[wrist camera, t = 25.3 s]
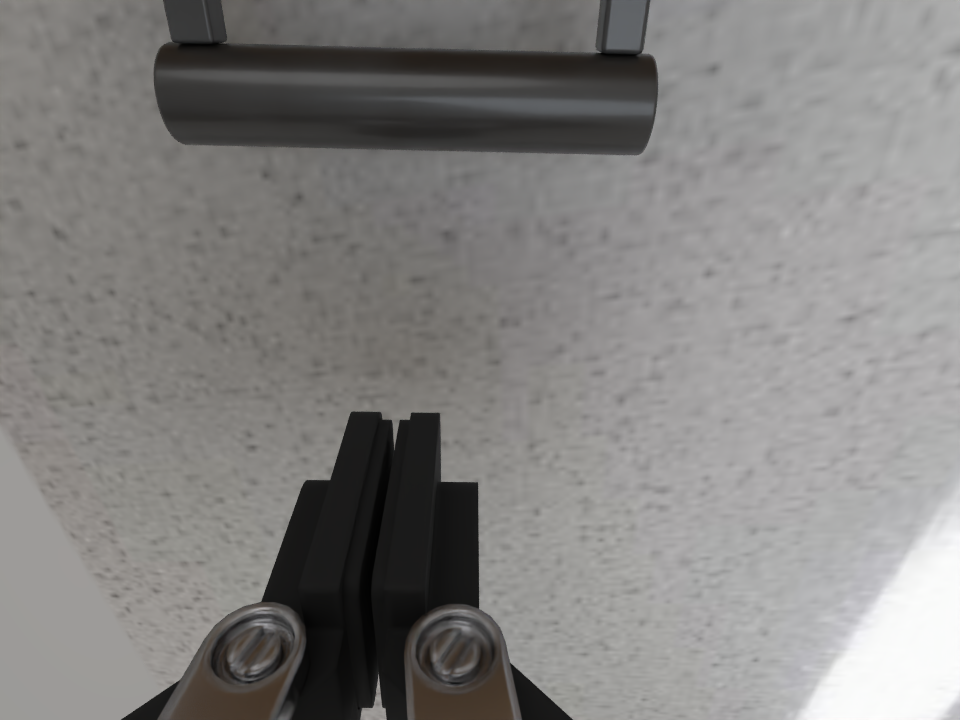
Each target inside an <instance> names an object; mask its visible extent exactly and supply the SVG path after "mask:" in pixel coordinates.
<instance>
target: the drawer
mask: <svg viewBox="0 0 960 720" xmlns="http://www.w3.org/2000/svg"><path fill="white" fill-rule="evenodd" d="M163 2H164V7H165V12H166V16H167V21H168V26H169V31H170V35H171V39H172V41H173V42H168V43H166V44H164V45H162V46H161V47H160V49H159V51H158V53H157V55H156V59H155V64H154V87H155V94H156V99H157V104H158V107H159V111H160V114H161V116H162V119H163V121H164V123H165V125H166V127H167V129H168V131H169V132H170V134H171V135H172V136H173V137H174V138H175V139H176V140H177V141H178V142H180V143H182V144H185V145H214V146H257V147H300V148H343V149H386V150H429V151H472V152H515V153H558V154H601V155H639V154H641V153H642V152H643V151H644V150H645V148H646V146H647V143H648V141H649V138H650V136H651V132H652V128H653V124H654V120H655V114H656V107H657V98H658V72H657V65H656V61H655V59H654V57H653V56H652V55H650V54H640V53H642V51H643V49H644V42H645V35H646V28H647V21H648V14H649V7H650V0H600V9H599V19H598V28H597V37H596V50H597V51H599V52H601V53H584V52H544V51H504V50H465V49H425V48H385V47H345V46H305V45H265V44H225V43H224V42H226V41H227V34H226V28H225V22H224V16H223V10H222V4H221V0H163Z"/></svg>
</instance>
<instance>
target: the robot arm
mask: <svg viewBox="0 0 960 720" xmlns="http://www.w3.org/2000/svg"><path fill="white" fill-rule="evenodd" d="M378 674H379V679H380V689H381V699H382V707H383V708H386V717H387V720H573V719H572V718H570V717H569V716H568V715H567V714H566V713H565V712H564V711H563V710H562V709H561V708H559V707H558V706H557V705H556V704H555V703H554V702H553V701H552V700H551V699H550V698H548V697H547V696H546V695H545V694H544V693H543V692H542V691H541V690H540V689H539V688H537V687H536V686H535V685H534V684H533V683H532V682H531V681H530V680H529V679H528V678H526V677H525V676H524V675H523V674H522V673H521V672H520V671H519V670H518V669H517V668H515V667H514V666H513V665H512V664H511V663H510V661H509V656H508V652H507V647H506V642H505V639H504V637H503V634H502V631H501V629H500V627H499V626H498V625H497V623H496V622H495V621H494V620H493V619H492V617H491V616H489V615H488V614H486V613H485V612H483V611H482V610H480V609H479V541H478V482H441V437H440V413H411V417H410V420H400V422H399V427H398V433H397V439H396V444H395V450H394V439H393V424H392V420H382V414H381V412H351V414H350V416H349V420H348V423H347V426H346V430H345V433H344V436H343V440H342V443H341V446H340V450H339V453H338V456H337V460H336V463H335V466H334V470H333V473H332V476H331V480H307V481H306V482H305V483H304V484H303V486H302V488H301V491H300V494H299V497H298V499H297V502H296V505H295V508H294V511H293V514H292V516H291V519H290V522H289V525H288V528H287V531H286V533H285V536H284V539H283V542H282V545H281V548H280V550H279V553H278V556H277V559H276V562H275V564H274V567H273V570H272V573H271V576H270V579H269V581H268V584H267V587H266V590H265V593H264V596H263V598H262V601H261V602H259V603H255V604H251V605H247V606H244V607H242V608H240V609H238V610H236V611H234V612H232V613H230V614H228V615H227V616H226V617H225V618H223V619H222V620H221V621H220V622H218V623H217V624H216V625H215V626H214V627H213V629H212V630H211V631H210V633H209V634H208V635H207V636H206V638H205V639H204V641H203V643H202V644H201V646H200V648H199V649H198V651H197V653H196V654H195V656H194V658H193V660H192V661H191V663H190V665H189V666H188V668H187V670H186V671H185V673H184V675H183V677H182V678H181V680H179V681H178V682H176V683H175V684H173V685H172V686H170V687H169V688H167V689H166V690H164V691H163V692H161V693H160V694H159V695H157V696H156V697H154V698H153V699H151V700H150V701H148V702H147V703H145V704H144V705H142V706H141V707H139V708H138V709H136V710H135V711H133V712H132V713H130V714H129V715H127V716H126V717H124V718H123V719H121V720H360V717H361V711H362V708H373V706H374V701H375V695H376V688H377V681H378Z"/></svg>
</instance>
